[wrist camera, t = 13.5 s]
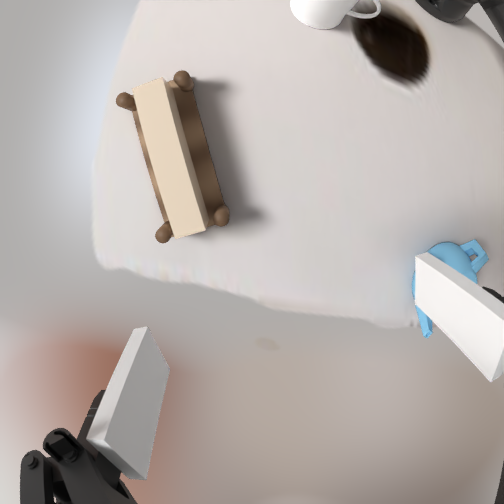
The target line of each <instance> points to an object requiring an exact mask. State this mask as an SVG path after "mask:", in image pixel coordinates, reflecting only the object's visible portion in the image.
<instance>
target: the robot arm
mask: <svg viewBox="0 0 504 504" xmlns="http://www.w3.org/2000/svg"><path fill="white" fill-rule="evenodd" d="M416 1H417V3H418V4H419V5H420V6H422V7H423V8H424V9H425V10H426V11H427V12H429V13H430V14H431V15H433V16H434V17H436V18H438V19H440V20H442V21H445V22H455V21H458V20H460V19H462V18H463V17H464V16H465V14H466V13H467V12H468V11H469V9H470V8H471V7H472V6H473V4H475V3H478V2H479V3H480V5H481V6H482V7H483V9H484V11H485V12H486V14H487V15H488V17H489V18H490V20H491V21H492V23H493V25H494V26H495V28H496V30H497V31H498V33H499V35H500V36H501V38H502V40H503V42H504V0H416ZM415 304H416V305H417V306H418V307H419V308H420V309H421V310H422V311H423V312H424V313H425V314H426V315H427V316H428V317H429V318H430V319H431V320H432V321H433V322H434V323H435V324H436V325H437V326H438V327H439V328H440V329H441V330H442V331H443V332H444V333H445V334H446V335H447V336H448V337H449V338H450V339H451V340H452V341H453V342H454V343H455V344H456V345H457V346H458V347H459V348H460V350H461V351H462V352H463V353H464V354H465V355H466V356H467V357H468V358H469V359H470V360H471V361H472V362H473V363H474V365H475V366H476V367H477V368H478V369H479V370H480V371H481V372H482V373H483V375H485V377H486V378H487V379H488V380H489V381H490V382H492V381H494V380H495V379H496V378H498V377H499V376H500V375H502V374H503V372H504V297H501V295H500V294H498V293H497V292H496V291H494V290H492V289H489V288H486V287H482V288H481V287H480V286H479V285H477V284H476V283H474V282H473V281H471V280H470V279H468V278H467V277H465V276H464V275H462V274H461V273H459V272H458V271H456V270H455V269H453V268H452V267H450V266H449V265H447V264H445V263H444V262H442V261H441V260H439V259H438V258H436V257H434V256H433V255H431V254H430V253H428V252H426V253H423V254H420V255H417V256H415ZM169 371H170V368H169V366H168V364H167V363H166V361H165V359H164V357H163V355H162V353H161V352H160V350H159V348H158V346H157V344H156V342H155V340H154V338H153V336H152V334H151V332H150V330H149V328H148V326H147V327H142V328H137V329H134V330H133V333H132V335H131V337H130V339H129V341H128V343H127V345H126V347H125V349H124V351H123V353H122V356H121V358H120V360H119V362H118V364H117V367H116V369H115V371H114V373H113V375H112V378H111V380H110V382H109V384H108V387H107V389H106V390H101V391H100V392H99V394H98V395H97V396H96V397H95V398H94V400H93V402H92V405H91V407H90V410H89V411H88V414H87V417H86V418H85V421H84V423H83V425H82V428H81V430H80V433H79V435H78V438H77V439H76V438H75V437H74V436H73V435H72V434H71V433H70V432H69V431H68V430H66V429H64V428H58V429H55V430H53V431H51V432H50V433H49V434H48V435H47V436H46V438H45V439H44V442H43V449H44V450H45V451H46V452H47V453H48V454H49V455H50V456H51V457H47V458H46V457H45V456H44V455H43V454H42V453H41V452H40V451H37V450H32V451H30V452H28V453H27V454H26V455H25V456H24V457H23V459H22V462H21V474H20V504H137V503H136V501H135V500H134V498H133V497H132V495H131V493H130V492H129V490H128V489H127V487H126V486H125V484H124V483H123V482H122V481H121V480H120V479H119V478H120V474H121V472H122V473H123V474H124V475H125V476H127V477H128V478H129V479H139V480H146V479H147V474H148V469H149V463H150V458H151V453H152V448H153V443H154V438H155V433H156V428H157V424H158V419H159V414H160V410H161V405H162V401H163V396H164V392H165V388H166V383H167V379H168V375H169ZM54 497H56V503H55V502H54ZM495 504H504V463H503V468H502V474H501V479H500V483H499V488H498V492H497V496H496V500H495Z"/></svg>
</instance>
